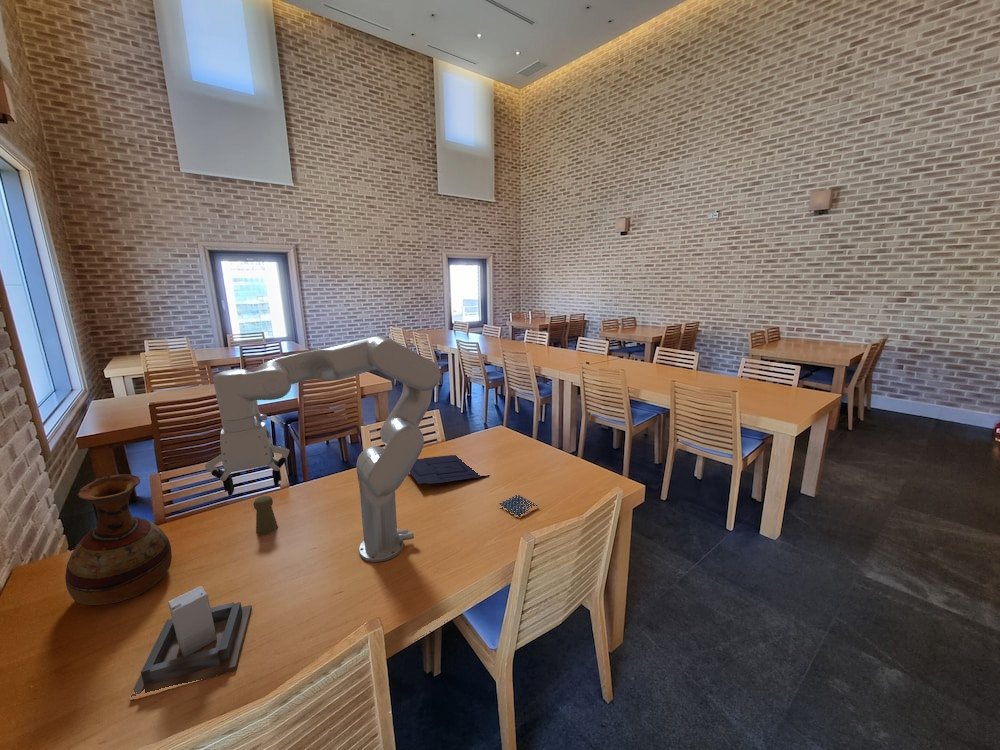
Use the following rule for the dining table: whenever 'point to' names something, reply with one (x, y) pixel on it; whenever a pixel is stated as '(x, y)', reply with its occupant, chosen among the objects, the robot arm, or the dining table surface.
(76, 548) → the painted clay vase
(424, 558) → the dining table surface
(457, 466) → the navy folded cloth
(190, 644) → the skincare box
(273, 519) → the cork
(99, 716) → the dining table surface
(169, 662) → the socket stand
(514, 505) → the woven mat
